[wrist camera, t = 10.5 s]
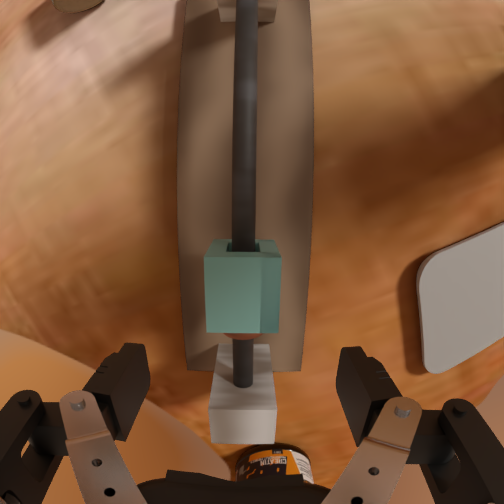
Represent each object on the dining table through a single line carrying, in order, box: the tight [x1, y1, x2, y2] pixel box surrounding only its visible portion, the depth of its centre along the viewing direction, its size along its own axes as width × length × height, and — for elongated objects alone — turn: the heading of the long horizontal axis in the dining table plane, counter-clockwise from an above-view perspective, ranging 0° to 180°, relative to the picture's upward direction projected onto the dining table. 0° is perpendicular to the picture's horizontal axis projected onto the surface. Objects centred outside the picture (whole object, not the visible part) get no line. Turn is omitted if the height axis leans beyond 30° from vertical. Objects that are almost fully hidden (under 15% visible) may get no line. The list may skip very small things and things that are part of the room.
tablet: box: [416, 222, 504, 374], centre depth 30 cm, size 16×26×2 cm, turn 108°
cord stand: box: [177, 0, 314, 444], centre depth 22 cm, size 12×40×12 cm, turn 179°
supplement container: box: [235, 443, 314, 484], centre depth 31 cm, size 10×10×12 cm
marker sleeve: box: [204, 239, 282, 333], centre depth 22 cm, size 5×5×6 cm
